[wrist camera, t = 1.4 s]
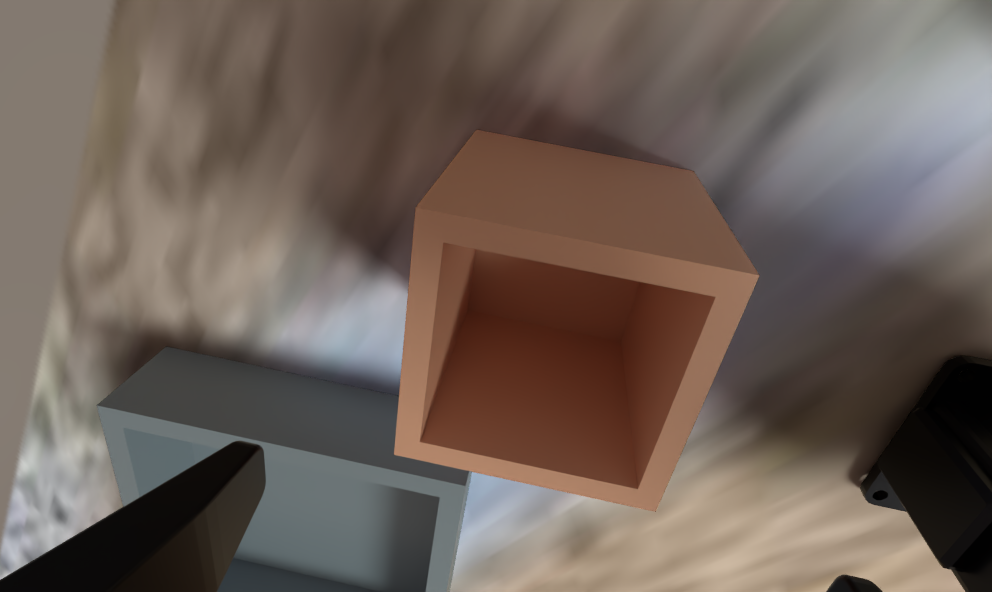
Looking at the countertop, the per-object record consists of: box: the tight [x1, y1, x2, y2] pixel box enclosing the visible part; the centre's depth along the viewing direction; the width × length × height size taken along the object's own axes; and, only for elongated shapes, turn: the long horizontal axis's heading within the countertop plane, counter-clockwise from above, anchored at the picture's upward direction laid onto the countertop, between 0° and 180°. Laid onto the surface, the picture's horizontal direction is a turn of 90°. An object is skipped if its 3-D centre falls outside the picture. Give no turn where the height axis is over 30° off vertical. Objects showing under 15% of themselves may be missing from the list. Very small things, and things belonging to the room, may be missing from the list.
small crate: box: [394, 130, 760, 512], centre depth 15 cm, size 6×6×7 cm
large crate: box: [97, 347, 472, 592], centre depth 24 cm, size 13×13×4 cm
